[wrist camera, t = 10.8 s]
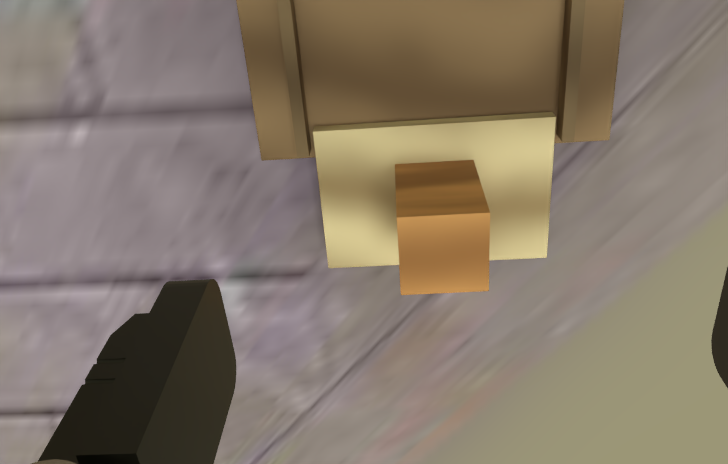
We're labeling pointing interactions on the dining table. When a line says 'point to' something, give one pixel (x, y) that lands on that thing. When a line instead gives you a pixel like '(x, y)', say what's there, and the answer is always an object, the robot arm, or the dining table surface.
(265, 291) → the dining table surface
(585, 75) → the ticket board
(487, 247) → the wooden block on base
